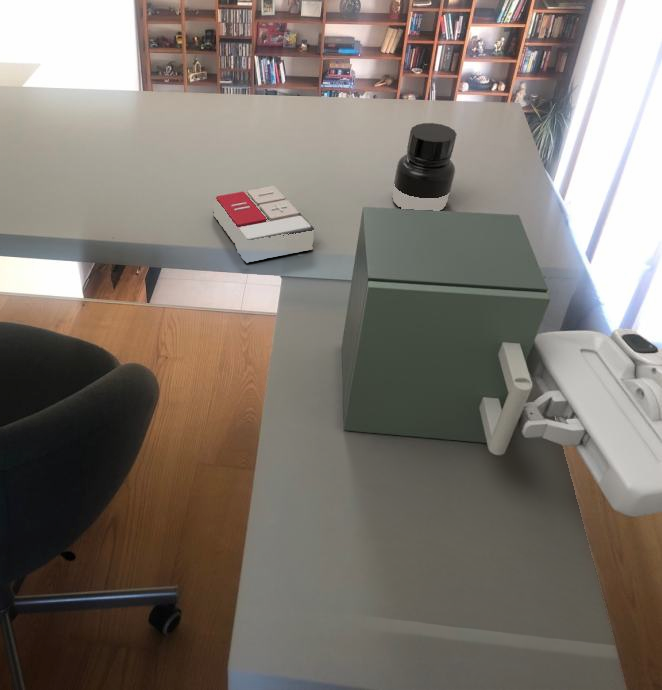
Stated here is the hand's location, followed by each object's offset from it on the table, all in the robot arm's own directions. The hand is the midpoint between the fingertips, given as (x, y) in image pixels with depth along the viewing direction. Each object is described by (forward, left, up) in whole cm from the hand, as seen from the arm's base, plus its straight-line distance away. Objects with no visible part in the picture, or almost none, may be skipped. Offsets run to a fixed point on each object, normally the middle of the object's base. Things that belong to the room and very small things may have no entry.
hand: (519, 420), depth 64 cm
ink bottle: (+57, +2, -10) cm, 58 cm away
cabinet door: (+3, +7, -10) cm, 12 cm away
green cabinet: (+13, +7, -10) cm, 18 cm away
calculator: (+45, +27, -10) cm, 54 cm away
